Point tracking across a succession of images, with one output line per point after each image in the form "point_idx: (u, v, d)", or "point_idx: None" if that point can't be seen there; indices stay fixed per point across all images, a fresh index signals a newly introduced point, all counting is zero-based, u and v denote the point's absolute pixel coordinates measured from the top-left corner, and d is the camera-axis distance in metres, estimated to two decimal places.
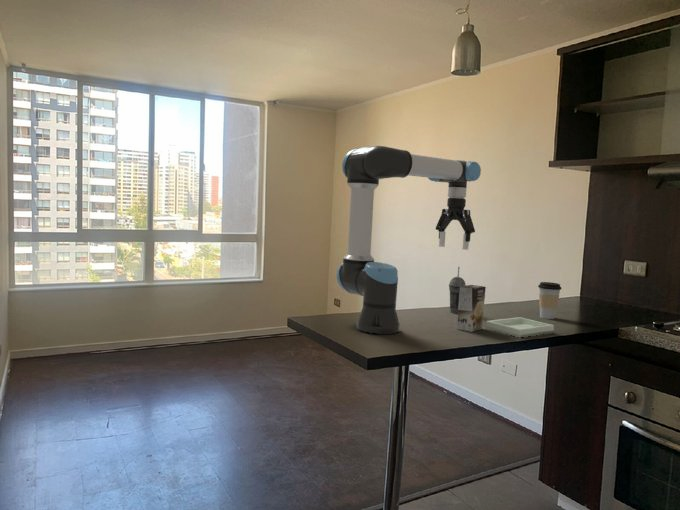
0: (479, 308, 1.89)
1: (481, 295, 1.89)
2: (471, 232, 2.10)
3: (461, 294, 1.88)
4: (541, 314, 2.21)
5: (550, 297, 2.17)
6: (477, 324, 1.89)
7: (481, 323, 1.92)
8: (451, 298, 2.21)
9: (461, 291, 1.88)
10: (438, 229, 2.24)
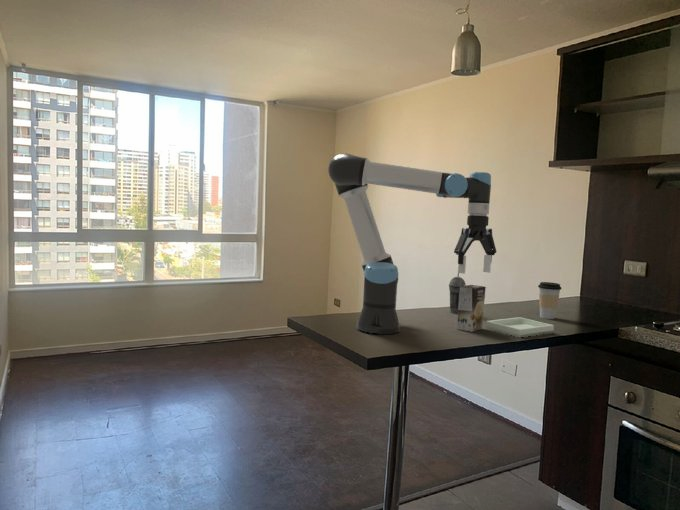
0: (479, 308, 1.89)
1: (481, 295, 1.89)
2: (456, 253, 1.84)
3: (461, 294, 1.88)
4: (541, 314, 2.21)
5: (550, 297, 2.17)
6: (477, 324, 1.89)
7: (481, 323, 1.92)
8: (451, 298, 2.21)
9: (461, 291, 1.88)
10: None
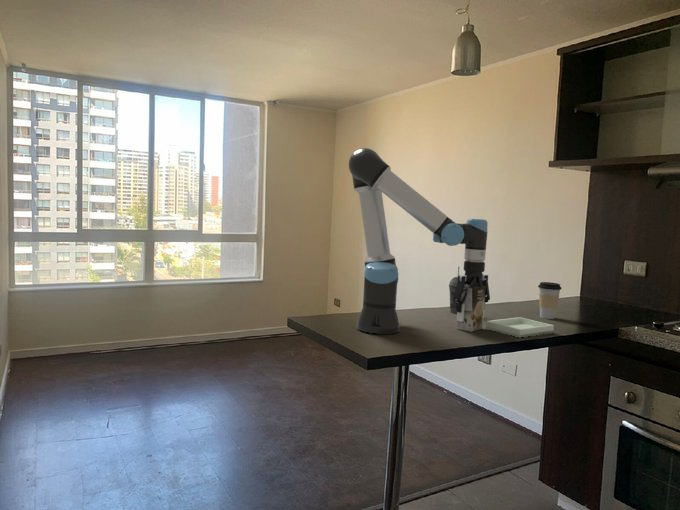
0: (479, 308, 1.89)
1: (481, 295, 1.89)
2: (455, 302, 1.86)
3: None
4: (541, 314, 2.21)
5: (550, 297, 2.17)
6: (477, 324, 1.89)
7: (481, 322, 1.92)
8: (451, 298, 2.21)
9: None
10: None
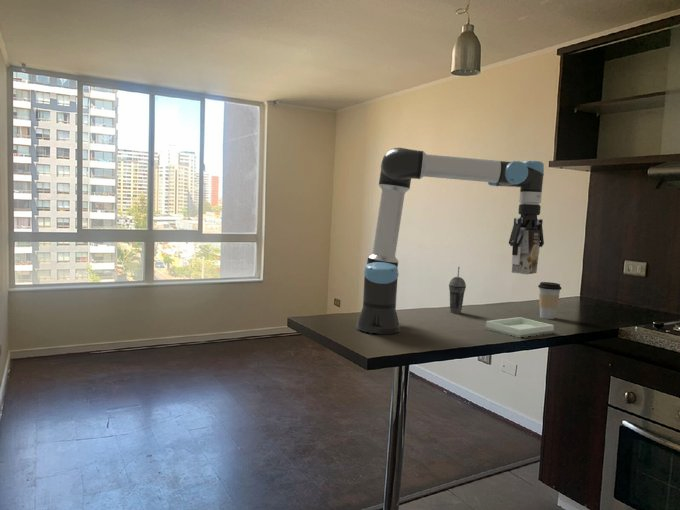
0: (534, 251, 1.88)
1: (537, 238, 1.88)
2: (511, 244, 1.85)
3: None
4: (541, 314, 2.21)
5: (550, 297, 2.17)
6: (533, 267, 1.88)
7: (536, 267, 1.91)
8: (451, 298, 2.21)
9: None
10: None
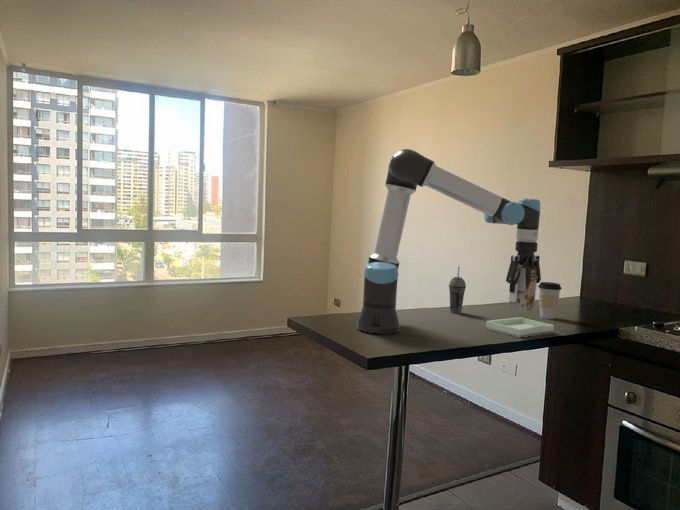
0: (531, 288, 1.89)
1: (534, 275, 1.89)
2: (508, 282, 1.86)
3: None
4: (541, 314, 2.21)
5: (550, 297, 2.17)
6: (530, 304, 1.89)
7: (533, 303, 1.92)
8: (451, 298, 2.21)
9: None
10: None
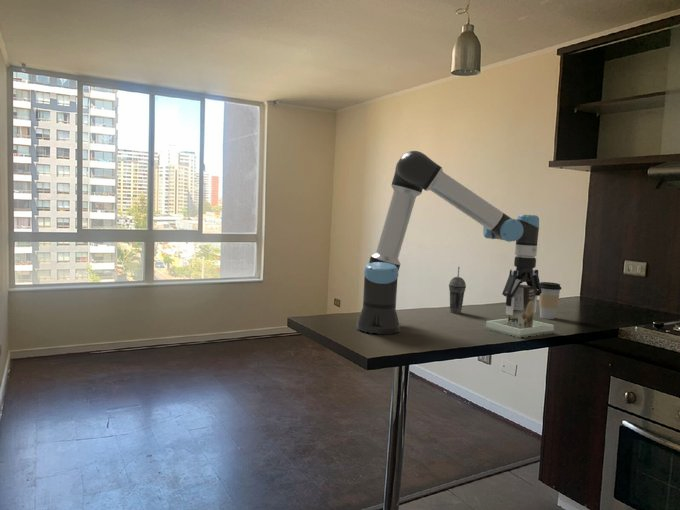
0: (530, 307, 1.90)
1: (532, 295, 1.90)
2: (505, 295, 1.86)
3: None
4: (541, 314, 2.21)
5: (550, 297, 2.17)
6: (528, 323, 1.90)
7: (531, 322, 1.92)
8: (451, 298, 2.21)
9: None
10: None
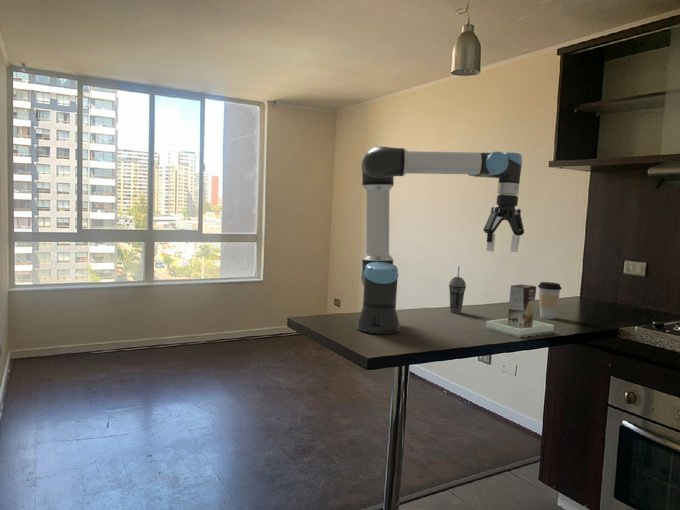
0: (530, 307, 1.90)
1: (532, 295, 1.90)
2: (486, 231, 1.88)
3: (512, 293, 1.89)
4: (541, 314, 2.21)
5: (550, 297, 2.17)
6: (528, 323, 1.90)
7: (531, 322, 1.92)
8: (451, 298, 2.21)
9: (512, 290, 1.89)
10: None
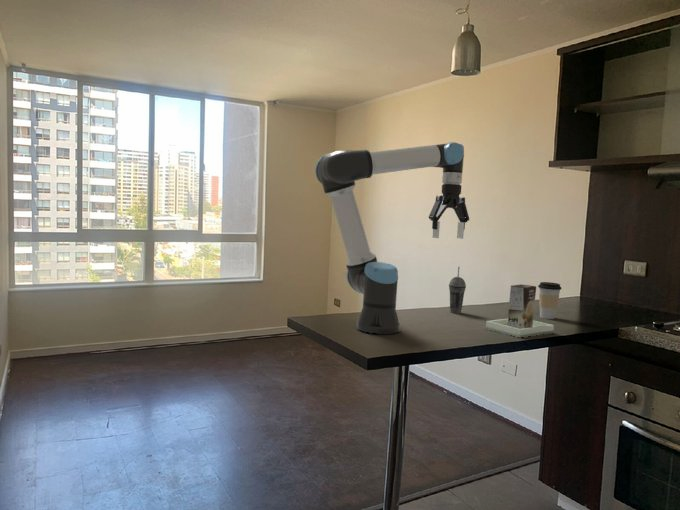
0: (530, 307, 1.90)
1: (532, 295, 1.90)
2: (431, 219, 1.97)
3: (512, 293, 1.89)
4: (541, 314, 2.21)
5: (550, 297, 2.17)
6: (528, 323, 1.90)
7: (531, 322, 1.92)
8: (451, 298, 2.21)
9: (512, 290, 1.89)
10: None
